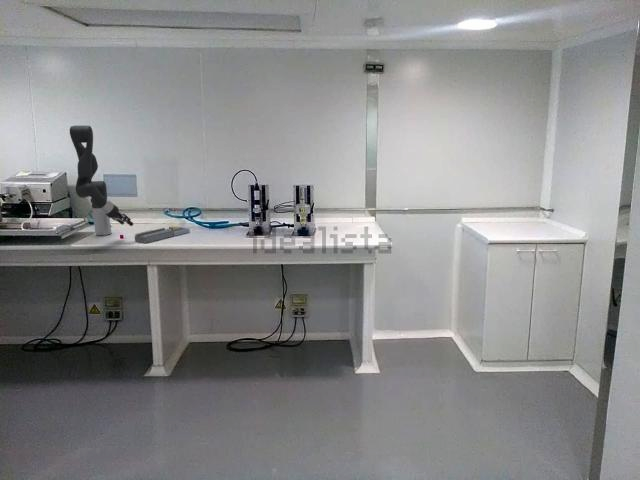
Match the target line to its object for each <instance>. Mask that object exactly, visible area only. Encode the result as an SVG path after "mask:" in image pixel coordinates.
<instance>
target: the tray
mask: <svg viewBox="0 0 640 480" xmlns="http://www.w3.org/2000/svg"><path fill="white" fill-rule="evenodd" d="M181 227H182V230H180V231H176V232H173V236H172V237H177V236H181V235H184V234H189V233H190V228H189V227H183V226H181ZM168 229H169V228H166V229H165V230H168Z"/></svg>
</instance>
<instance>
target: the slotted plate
mask: <svg viewBox="0 0 640 480" xmlns="http://www.w3.org/2000/svg"><path fill="white" fill-rule="evenodd" d="M165 228H166V227H161V228H157V229H151V230H152V231H150V230H147V231H148V232H145V231H142V232H143V233H141V232H138V233H139V234H137V233H135V234H134V241H135V242H137V243H143V244H148V243H152V242H157V241H161V240H164V239H168V238H172V237H174V236H173V231H172V229H169V228H167V229H168V230H165Z"/></svg>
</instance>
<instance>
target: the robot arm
mask: <svg viewBox="0 0 640 480" xmlns="http://www.w3.org/2000/svg"><path fill="white" fill-rule="evenodd" d="M69 136H70V139H71V142H72V144H73V147H74V149H75V152H76V156H77V159H78V162H77V179H76V184H75V193H76V195H77V196H78V197H79V198H82V199H83V198H84V199H85V198H89V197H90V203H91V209H92V211H91V212H92V219H93V225H94V233H95V236H97V235H104V236H109V235H111V234H112V227H111V219H112V220H113V221H116V222H118V223H119V224H120V225H124V224H125V223H126V224H127V225H128V226H130V227H133V225H134V222H132V221H131V220H132V218H130V217H129V216H127V214H125V213H121V212H120V209H119V207H118V206H117V205H115V204H114V203H113V202H112V201H111V200H109V199H108V191H107V189H108V188H107V184H106V182H105V181H103V180H97V181H92V179H93V178H94V176H95V174H96V172H97V171H98V168H99V164H98V160H97V157H96V156H95V154H94V153H93V147H94V145H93V144H94V132H93V128H92V126H90V125H84V124H83V125H72V126H70V127H69ZM82 143H83V144H82ZM85 143H86V144H85ZM84 144H85V145H84ZM108 234H109V235H108Z"/></svg>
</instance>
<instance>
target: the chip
mask: <svg viewBox="0 0 640 480" xmlns="http://www.w3.org/2000/svg"><path fill="white" fill-rule="evenodd" d="M168 229H172V231H173V232H176V231H177V226H173V225H171V226H169V227H168Z"/></svg>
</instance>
